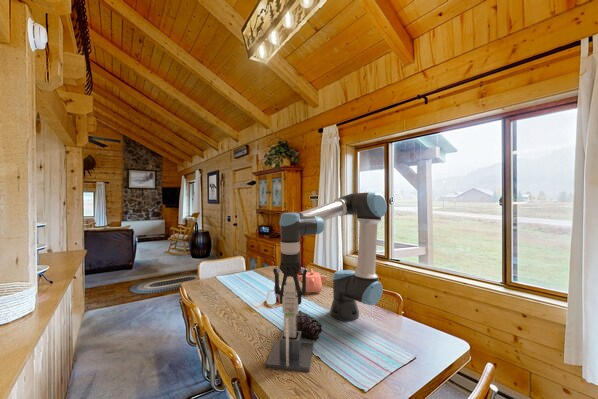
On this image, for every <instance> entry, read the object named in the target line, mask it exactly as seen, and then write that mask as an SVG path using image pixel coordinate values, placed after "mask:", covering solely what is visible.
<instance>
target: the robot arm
mask: <svg viewBox="0 0 598 399" xmlns="http://www.w3.org/2000/svg"><path fill="white" fill-rule="evenodd" d="M387 205H388V203H387V202H386V199H385V197H384V196H383V195H382V194H381V193H379V192H372V191H371V192H353V193H349V194H347V195H346V194H345V195H343V196H340V197H337V198H335V199H334V200H333V201H331V202H327V203H325V204H321V205H319V206H316V207H313V208H309V209H305V210H303V211H300V212H282V213H281V214H280V219H279V227H280V231H279V232H280V252H281V253H280V264H279V266H278V267H277V266H274V268H273V269H272V272H273V274H274V294H275V295H279V304H282V314H284V284H285V283H286V282H287V279H288V278H289V277H291V278H293V282H295V285H296V291H297V295H296V314H298V312H299V310H300V307H299V306H300V305H301V304H302V296H305V295H306V273H307V272H308V271H309V270H308V268H307V267H305V268H304V267H302V265H301V254H300V252H301V243H300V241H301V237H303V236H313V235H314V236H316V235H319V234H322V233H323V232H324V229H325V222H324V221H328V220H330V219H332V218H335V217H344V216H351V215H352V216H356V220H357V221H358V222H359V229H358V247H357V248H358V250H357V270H356V271H355V270H353V269H342V270H341V269H340V270H337V271H335V272H334V273H333V275H332V276H333V277H332V291H333V292H332V294H333V296H332V297H333V299H332V302H331V306H330V308H329V315H330V316H331V318H333V319H336V320H338V321H342V322H343V321H344V322H345V321H348V322H349V321H350V322H351V321H355V320H357V319H358V318H359V317H360V311H359V307H358V305H357V302H359V303H362V304H363V305H367V306H375V305H377V304H378V303H379V301H380V300H381V298H382V295H383V293H384V292H383V291H384V289H383V288H384V287H383V284H382V283H381V282H380V281H379V275H378V274H377V273H376V263H377V245H378V244H377V242H378V240H377V239H378V224H379V223H380V222H381V221H382V217H384V216H385V215H386V213H387V210H388V206H387ZM280 272H282V274H283V276H282V277H283V278H282V281H281V287H280ZM299 272H301V275H302V277H301V280H302V283H301V285H302V286H301V285H300V281H299V279H298V276H299V275H298V274H299Z"/></svg>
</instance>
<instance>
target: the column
mask: <svg viewBox="0 0 598 399" xmlns="http://www.w3.org/2000/svg"><path fill="white" fill-rule="evenodd" d="M296 295H297V291H296V285H295V282H294V281H286V283H285V284H284V313H283V330H284V337H286V316H289V318H290V321H289V338H296V335H297V314H296Z"/></svg>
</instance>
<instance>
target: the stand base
mask: <svg viewBox="0 0 598 399" xmlns="http://www.w3.org/2000/svg"><path fill="white" fill-rule="evenodd" d="M289 321H290V318H289V316H286V337H284V329H283V330H282V332H281V335H280V338H279V340H275V341H274V343H273V347H272V348H271V351H270V353H269V355H268V358H267V361H266V362H265V369H271V370H283V371H293V372H295V371H296V372H310V370H311V364H312V357H313V351H314V343H310V342H303V340H302V339H303V338H302V331H297V335H296V338H289Z"/></svg>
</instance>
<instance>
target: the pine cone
mask: <svg viewBox="0 0 598 399" xmlns="http://www.w3.org/2000/svg"><path fill="white" fill-rule="evenodd" d="M322 327H323V325H322V324H321V323H320V321H318V320H317V319H316V318H315V317H313V316H312V315H310V314H308V313H306V312H305V311H304V312H303V311H301V309H299V312H298V314H297V331H302V339H303V340H307V341H312V342H318V341H319V339H320V334H321V333H322V332H323V328H322Z"/></svg>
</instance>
